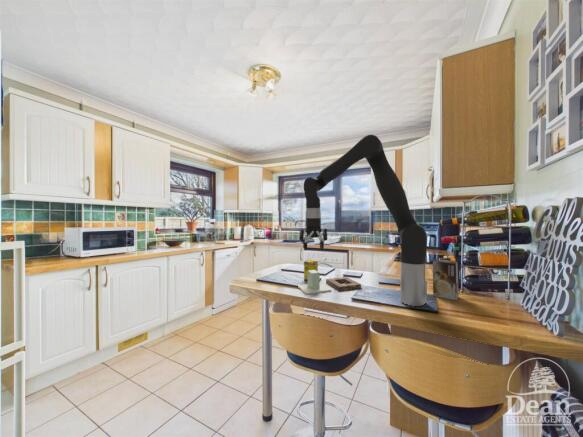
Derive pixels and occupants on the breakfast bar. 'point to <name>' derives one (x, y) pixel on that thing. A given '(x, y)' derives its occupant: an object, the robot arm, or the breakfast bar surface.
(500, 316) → the breakfast bar surface
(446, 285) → the coffee box
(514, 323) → the breakfast bar surface
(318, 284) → the sage block
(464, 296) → the breakfast bar surface
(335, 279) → the frame
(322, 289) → the tile mat
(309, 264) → the supplement box
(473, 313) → the breakfast bar surface
